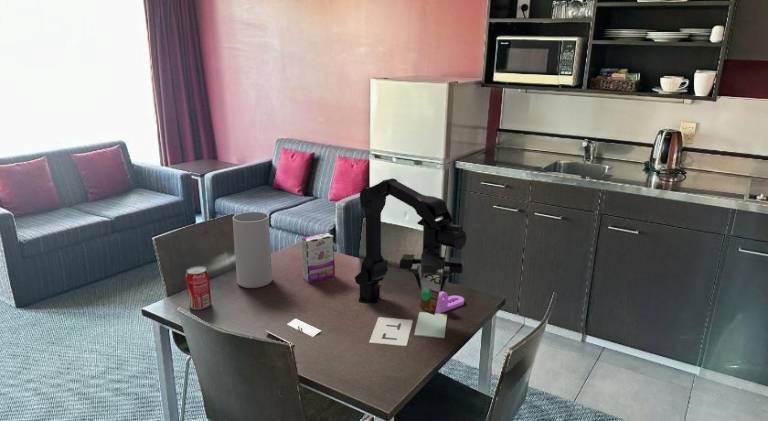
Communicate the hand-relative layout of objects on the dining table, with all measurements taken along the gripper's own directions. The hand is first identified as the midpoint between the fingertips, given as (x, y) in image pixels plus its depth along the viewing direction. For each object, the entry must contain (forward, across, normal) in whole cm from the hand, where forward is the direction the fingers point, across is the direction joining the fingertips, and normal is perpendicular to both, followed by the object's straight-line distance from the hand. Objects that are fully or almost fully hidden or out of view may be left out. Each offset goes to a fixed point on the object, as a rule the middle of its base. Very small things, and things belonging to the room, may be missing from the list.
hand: (430, 289), depth 166 cm
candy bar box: (+12, -44, +29) cm, 54 cm away
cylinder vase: (+12, -66, +20) cm, 70 cm away
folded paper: (+13, -40, -13) cm, 44 cm away
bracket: (+12, +5, +15) cm, 20 cm away
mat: (+12, 0, 0) cm, 12 cm away
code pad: (+12, -11, -6) cm, 17 cm away
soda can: (+12, -76, -2) cm, 77 cm away
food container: (+6, -1, -1) cm, 6 cm away
